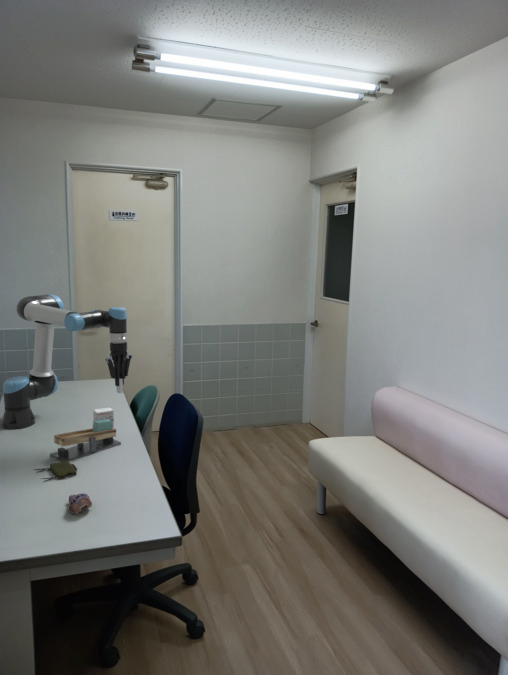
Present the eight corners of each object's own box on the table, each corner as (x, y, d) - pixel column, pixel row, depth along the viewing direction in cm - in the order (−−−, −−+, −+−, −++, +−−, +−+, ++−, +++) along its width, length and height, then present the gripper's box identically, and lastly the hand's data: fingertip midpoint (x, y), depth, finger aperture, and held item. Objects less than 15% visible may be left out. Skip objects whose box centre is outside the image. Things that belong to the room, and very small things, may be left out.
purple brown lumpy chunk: (63, 503, 175) (62, 486, 174) (86, 498, 179) (85, 482, 178) (71, 519, 165) (70, 501, 164) (94, 513, 169) (94, 496, 168)
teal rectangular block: (92, 432, 225) (93, 421, 225) (106, 429, 230) (106, 418, 230) (97, 434, 223) (98, 423, 222) (111, 431, 228) (112, 420, 228)
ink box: (96, 436, 237) (95, 412, 235) (93, 433, 242) (92, 409, 240) (114, 433, 242) (113, 409, 240) (111, 430, 246) (110, 406, 244)
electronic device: (81, 469, 197) (40, 479, 188) (81, 476, 197) (41, 486, 188) (69, 457, 208) (31, 466, 199) (69, 463, 208) (31, 472, 199)
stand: (49, 456, 214) (49, 440, 213) (106, 438, 236) (106, 423, 234) (63, 463, 207) (63, 447, 206) (120, 444, 229) (120, 429, 227)
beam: (53, 442, 213) (53, 434, 212) (106, 432, 233) (106, 425, 233) (63, 446, 208) (63, 439, 208) (116, 436, 228) (116, 429, 228)
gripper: (111, 344, 220) (112, 397, 224) (135, 341, 230) (136, 391, 234) (101, 342, 225) (102, 393, 229) (125, 339, 235) (126, 388, 239)
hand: (119, 392), depth 231 cm, fingers closed
